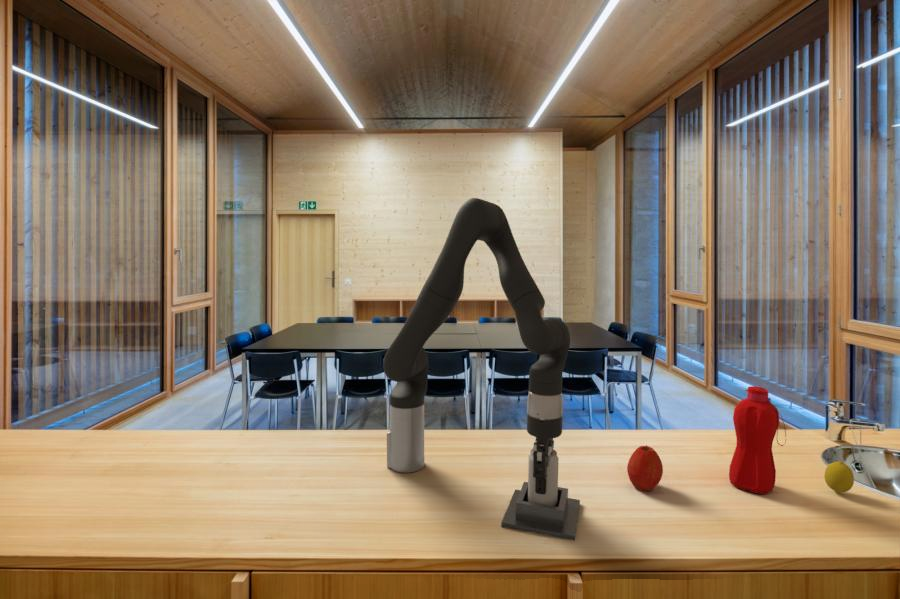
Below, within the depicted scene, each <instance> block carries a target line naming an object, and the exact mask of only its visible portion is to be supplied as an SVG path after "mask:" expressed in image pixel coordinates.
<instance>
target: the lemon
mask: <svg viewBox="0 0 900 599" xmlns="http://www.w3.org/2000/svg"><path fill="white" fill-rule="evenodd" d="M824 470H825V471H824V481H825V483H826V485H827V487H828V488H829V489H830V490H832V491H833V492H835V494H841V493H847V492H848V491H850V490H852V488H853V486H854V481H855V477H854V472H853V470H852V469H851V467H850V466H848V465H847V464H846V463H844V462H843V461H840V460H838V461H833V462H830V463H829V464H828V465H827V466H826V468H825V469H824Z"/></svg>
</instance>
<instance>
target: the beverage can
mask: <svg viewBox="0 0 900 599" xmlns="http://www.w3.org/2000/svg"><path fill="white" fill-rule="evenodd" d="M533 452H534V450H533V448H532V449H531V450H530V453H529V455H528V466H527V467H528V470H527V471H528V476H527V477H528V478H527V480H528V481H527V482H528V502H532V503H538V504H544V505H549V506H556V505H557V497H558V487H559V457H558V453H557V451H556V450H555V449H554V448H553V451H552V454H551V457H550V466H549V467H547V478H546V494H544V495H543V494H537V493H536V492H535V481H536V478H534V477H533ZM547 459H548V457H546V462H547ZM538 471H542V472H543V469H539V468H538Z"/></svg>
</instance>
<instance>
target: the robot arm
mask: <svg viewBox="0 0 900 599" xmlns="http://www.w3.org/2000/svg"><path fill="white" fill-rule="evenodd" d="M477 241H481V242H484V243H485V244H486V246H487V247H488V249H490V251H491V253H492V255H493V256H494V257H495V260H496V263H497V268H498V276H499V281H500V282H499V283H500V284H501V287H502V288H501V289H502V291H503V293H504V295H505V296H506V298H507V301H508V303H509V304H510V306H511V307H512V310H513V311H514V314H515V315H514V316H515V320H516V323H517V327H518V332H519V334H520V335H519V336H520V340H521V341H522V343H523V345H524V347H526V349H527V350H528V351H529V352H530V353H532V354H533V355H536V356H537V355H538V356H539V357H538V360H537V361H536V362H535V363H533V364H532V365H531V366H530V368H529V371H528V372H529V373H528V395H527V399H526V400H527V404H526V405H527V406H526V432H527V433H528V434H529V435H530V436H533V437H534V438H535V442H533V447H532V449H533V450H534V452H533V477H534V478H536V481H535V492H536V493H537V494H543V495H544V494H546V478H547V467H549V466H550V457H551V454H552V451H553V449H554V448H555V447H554V446H555V440H554V439H556V438H560V436H562V434H563V411H564V410H563V409H564V402H563V374H564V373H563V372H564V368H565V366H566V362H567V359H568V354H569V351H570V345H571V334H570V330H569V328H568V326H567V324H566V323H565V322H564V321H563V320H561V319H558V318H549V319H548V318H547V319H543V317H542V314H541V311H542V310H543V308H544V306H545V305H546V304H545V303H546V301H545V298H544V295H543V294H542V292H541V290H540V288H539V287H538V285H537V283H536V281H535V279H534V277H533V276H532V275H531V272H530V270H529V269H528V268H527V265H526V263H525V262H524V259H523V257H522V255H521V252H520V251H519V247H518V246H517V245H518V244H517V242H516V240H515V238H514V235H513V231H512V229H511V226H510V224H509V220H508V219H507V216H506V214H505V212H504V210H503V208H501V207H500V206H499V205H497V204H496V203H495V202H494V203H493V202H491V201H487V200H485V199H481V198H477V197H472V198H469V199H467V200H466V201H464V202H463V204H462V205H461V206H460V207H459V209H458V210H457V213H456V215H455V217H454V219H453V222H452V224H451V226H450V229H449V232H448V235H447V237H446V240H445V243H444V244H443V247H442V249H441V250H440V253H439V255H438V257H437V259H436V261H435V263H434V266H433V267H432V270H431V272H430V273H429V275H428V277H427V278H426V280H425V282H424V284H423V286H422V288H421V291H420V293H419V294H418V296H417V298H416V301H415V303H414V305H413V306H412V308H411V310H410V312H409V314H408V316H407V319H406V320H405V322H404V324H403V326H402V328H401V329H400V331H399V333H398V334H397V336H396V337H395V339H394V340H393V341H392V343H391V344H390V346H389V347H388V349H387V351H386V352H385V355H384V358H383V361H382V362H383V363H382V365H383V372H384V374H385V376H386V377H387V378H388V379H389V380H390V381H392V382H395V383H396V384H395V386H394V387H393V389H392V391H391V392H390V393H389V402H388V403H389V430H388V432H386V467H387V468H389V469H391V470H392V471H394V472H397V473H405V474H406V473H414V472H418V471H421V470H422V469H423V468H424V467H425V396H426V394H427V391H428V381H429V380H428V379H429V378H428V377H429V358H428V353H427V352H426V350H425V347H424V346H425V344H426V343H427V341H428V340H429V338H430V337H431V336H433V335H434V333H435V332H436V331H437V330H438V329H440V327H441V326H442V325H443V323H445V322H446V321H447V319H448V317H449V316H450V315H451V314H452V312H453V310H454V309H455V307H456V305H457V303H458V301H459V299H460V297H461V296H462V293H463V290H464V282H465V281H464V280H465V266H466V262H467V259H468V257H469V255H470V253H471V251H472V250H473V248H474V246H475V244H476V242H477ZM546 457H548V459H547V462H546ZM538 468H539V469H543V472H542V471H538Z"/></svg>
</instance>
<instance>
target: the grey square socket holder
mask: <svg viewBox="0 0 900 599" xmlns="http://www.w3.org/2000/svg"><path fill="white" fill-rule="evenodd" d="M580 504H581V499H578V498H577V499H576V498H571V497H569V488H565V487H561V486H558V497H557V505H556V506H549V505H544V504H538V503H532V502H528V481H523V483H522V487H521V489H515V490H514V492H513V493H512V496H511V499H510V501H509V503H508V506H507V509H506V510H505V513H504V516H503V518H502V521H500V522H501V523H500V524H501V525H500V526H501V528H504V529H505V528H506V529H510V530H516V531H521V532H527V533H531V534H537V535H543V536H547V537H548V536H549V537H553V538H559V539H565V540H570V541H575V540H576V533H577V526H578V521H579V520H578V518H579V513H580V512H579V511H580Z"/></svg>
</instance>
